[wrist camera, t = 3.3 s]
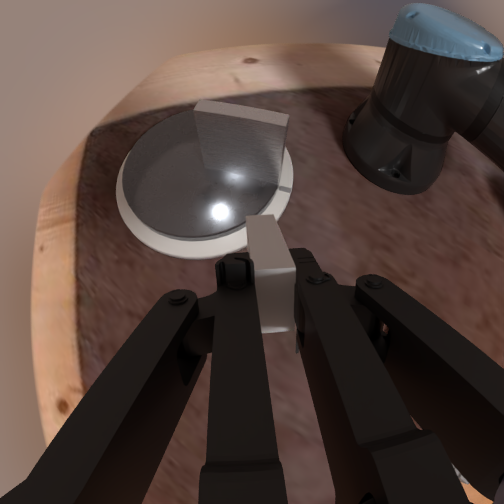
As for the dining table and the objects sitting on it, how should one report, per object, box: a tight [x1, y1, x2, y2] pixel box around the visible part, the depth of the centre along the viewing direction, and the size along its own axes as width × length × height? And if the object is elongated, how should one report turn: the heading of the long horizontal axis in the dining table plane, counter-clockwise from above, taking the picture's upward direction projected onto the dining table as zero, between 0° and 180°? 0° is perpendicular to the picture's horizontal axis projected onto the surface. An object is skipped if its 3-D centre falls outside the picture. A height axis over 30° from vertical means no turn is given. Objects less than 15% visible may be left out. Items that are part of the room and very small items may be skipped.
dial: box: [122, 100, 289, 242], centre depth 31 cm, size 19×19×10 cm
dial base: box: [116, 147, 293, 260], centre depth 36 cm, size 22×22×1 cm
